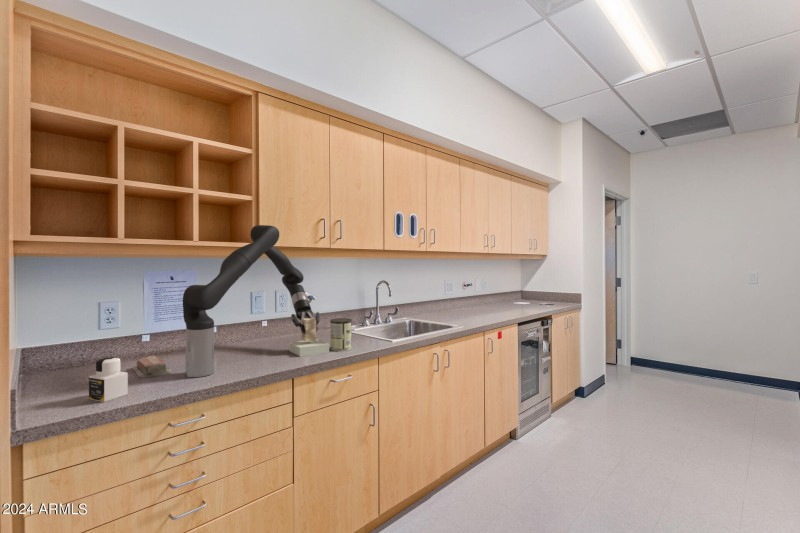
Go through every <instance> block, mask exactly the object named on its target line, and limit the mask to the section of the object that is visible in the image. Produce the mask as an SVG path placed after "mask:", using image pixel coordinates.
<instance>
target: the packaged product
mask: <svg viewBox="0 0 800 533" xmlns="http://www.w3.org/2000/svg"><path fill="white" fill-rule="evenodd" d="M132 370H133V371H134V372H135V373H136V375H137V376H138V377H139V378H140V379H146V378H153V377H159V376H165V375H171V374H172V369H171V368H169V367H168V366H167V365H166V363H165V362H164V361H163V360H162V359H160V357H158V356H157V355H148V356H146V357H142V358H139V359H138V360H137V361H136V365H135V366H132Z"/></svg>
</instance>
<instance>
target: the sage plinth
mask: <svg viewBox="0 0 800 533" xmlns="http://www.w3.org/2000/svg"><path fill="white" fill-rule="evenodd" d="M288 344H289V345H288V350H289V352H291V353H292V354H295V355H296V356H297V357H308V356H314V355H321V354H328V353H330V343H328V342H326V341H323V340H321V339H318V338H316V341H308V342H305V341H303V340H298V341H297V340H296V341H289V342H288Z"/></svg>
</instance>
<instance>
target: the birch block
mask: <svg viewBox="0 0 800 533" xmlns="http://www.w3.org/2000/svg"><path fill="white" fill-rule="evenodd" d="M303 325H304V327H305V330H306V332H305V334H303V333H302V332H301V341H305V342H308V341H316V339H317V332H316V319H315V318H314V317H313V318H304V319H303Z"/></svg>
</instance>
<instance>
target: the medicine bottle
mask: <svg viewBox="0 0 800 533" xmlns="http://www.w3.org/2000/svg"><path fill="white" fill-rule="evenodd" d="M121 366H122V365H121V359H120V357H119V358H118V357H116V356H114V357H113V356H112V357H111V356H110V357H104V358H100V359H98V360H97V361H96V362H95V374H92V375H89V377H88V399H89V400H91V401H96V402H102V403H106V402H110V401H113V400H117V399H119V398H122V397H125V396H127V395H128V394H129V393H128V392H129V390H128V386H129V385H128V384H129V382H128V380H129V378H128V375H129V374H128V372H124V371H121Z"/></svg>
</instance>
